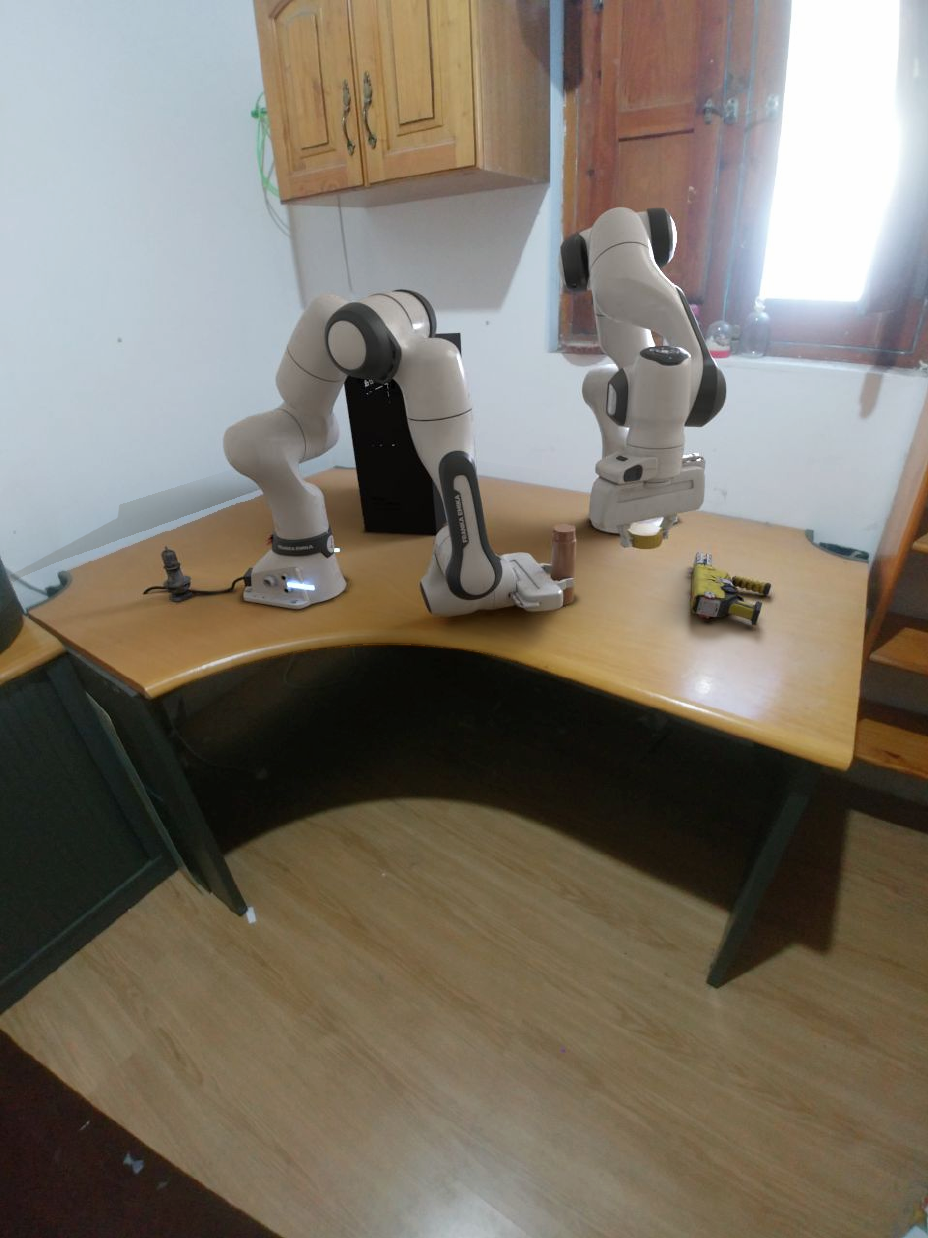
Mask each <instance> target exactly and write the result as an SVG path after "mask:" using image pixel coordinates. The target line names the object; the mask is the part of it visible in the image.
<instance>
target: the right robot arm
mask: <svg viewBox="0 0 928 1238" xmlns="http://www.w3.org/2000/svg"><path fill="white" fill-rule="evenodd" d="M676 245H677V230H676V226H675V222H674V220H673V219H672V217H671V213H670V212H669V211H668V210H667V209H666V208H665V207H650V208H646V210H644V211H637V212H636V211H634V210H633V209H631V208H629V207H624V206H618V207H613V208H610V209H608V210H606V211H604V212H603V213H602V214H600V216H599V217H598V218H597V219H596V220H595V222H594V223H593V225H592V226H591V227H589V228H586V229H584V230H583V231H581V232H579V231H575V232H574V233H572V234H571V235H569V236H567V237H566V238H564V240H563V241H562V243H561V244H560V249H559V254H558V261H557V262H558V263H557V264H558V265H557V266H558V267H557V268H558V272H559V276H560V278H561V281H562V282H563V284H564V285H565V287H566V290H568V291H570V292H571V293H572V294H583V293H587V292H588V291H590V290H591V295H592V301H593V303H592V304H593V313H594V319H595V325H596V333H597V340H598V346H599V348H600V349H601V351H602V352H603V353H604V355H606V356H607V357H608V358H609V359H611V361H612V362H613V363H607V364H602V365H597V366H593V367H591V369H589V370H588V371H587V373H586V375H585V376H584V378H583V381H582V385H581V395H582V399H583V401H584V403H585V404H586V405H587V407H589V409H590V410H591V411H592V413H593V415H594V417H595V419H596V421H597V424H598V428H599V431H600V436H601V459H599V460H598V461H597V462H596V464H595V467H594V468H595V469H594V471H595V474H596V475H598V477H597V478H596V479H595V481H593V483H592V487H591V492H590V496H589V497H590V499H589V508H588V517H589V520H590V521H591V525H592V526H593V527H594V528H595V529H597V530H599V531H601V532H605V533H611V534H619V536H620V540H619V544H620V546H621V547H622V548H624V549H627V548H631V547H632V546H633V545H634V543H633V542H634V537H633V536H630V535H629V533H628V531H627V530H628V529H630V526H631V525H634V524H641V523H645V524H653V525H656V526H659V527H661V528H662V530H663V537H662V541H663V540H668V539H669V535H670V533H669V532H670V530H671V529H672V527H673V525H674V524H675V523H677V522H678V514H683V513H688V512H694V511H697V510H699V509H700V508H701V507H702V505H703V503H704V501H705V491H706V475H705V470H706V459H705V458H704V456H703V455H700V453H699V452H694V453H691V454H684V452H685V446H686V445H685V443H686V436H685V428H702V427H704V426H705V425H707V424H709V422H711V421H712V420H713V419H714V418H715V417H717V415H718V414H719V413H720V412H721V411H722V410H723V408H724V405H725V403H726V399H727V381H726V378H725V375H724V373H723V371H722V369H721V368H720V366H719V365H718V364H717V362H716V360H715V359H714V358H713V356H712V354H711V352H710V350H709V348H708V345H707V343H706V340H705V339H704V336H703V333H702V331H701V329H700V326H699V324H698V322H697V319H696V317H695V315H694V312H693V310H692V308H691V305H690V303H689V300H688V299H687V297H686V294H685V293H684V291H683V290H682V289H681V288H680V287H679V286H677V285H676V284H675V283H673V282H671V281H670V279H668V278H667V277H666V276H665V274H664V273H663V272H662V271H661V269H663V268H665V267H666V266H668V264H669V263H670V261H672V259H673V257H674V252H675V248H676ZM652 332H653V333H656V334H657V335H659V336H661V337H662V338H663V339H664V340H665V341H666V343H667V345H656V344H655V342H654V339H653V336H652Z"/></svg>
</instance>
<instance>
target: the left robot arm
mask: <svg viewBox="0 0 928 1238" xmlns="http://www.w3.org/2000/svg"><path fill="white" fill-rule="evenodd" d="M437 324H438V322H437V316H436V312H435V310H434V307H433V305H432V304H431V303H430V301H429V300H428V299H427V298H426V297H425V296H424V295H422V294H421V293H419V292H417V291H414V290H410V289H402V288H401V289H394V290H391V291H384V292H378V293H377V292H376V293H373V294H370V295H368V296H366V297H364V298H361V299H358V300H357V301H353V302H350V301H348V300H346V299H345V297H342V296H341V295H337V294H334V293H321V294H318V295H316V296H315V297H313V298H312V299H311V300H310V302H309V303H308V304H307V306H306V307H305V308H304V310H303V312H302V313H301V315H300V317H299V319H298V320H297V322H296V323H295V326H294V328H293V330H292V332H291V334H290V336H289V339H288V341H287V344H286V347H285V349H284V352H283V355H282V358H281V360H280V362H279V365H278V368H277V371H276V374H275V377H274V379H275V386H276V389H277V391H278V394H279V396H280V397H281V399H282V400H283V402H282V403H281V404H280V405H279V406H278V407H276V408H274V409H270V410H267V411H263V412H258V413H256V414H252V415H247V416H245V417H244V418H242V419H240V420H238V421H236V422H234V423H233V424H232V425H230V426H228V427H227V428H226V430H225V431H224V434H223V438H222V449H223V453H224V456H225V459H226V460H227V462H228V463H229V465H230V466H231V467H232V468H233V470H235V471H236V472H237V473H238V474H240V475H242V476H244V477H246V478H248V479H250V480H251V481H252V482H253V483H255V484H256V485H257V487H258V488H259V489H260V491H261V492H262V493H263V495H264V497H265V499H266V502H267V505H268V509H269V511H270V515H271V519H272V523H273V526H274V531H273V532H272V533H270V534H269V537H268V538H266V540H265V542H266V546H268V545H270V544H271V548H270V549H269V550H268V551H267V552H266V553H265V554H264V555H263V556H262V557H261V558H260V559H259V560H258V561H257V562H256V563H255V564H254V565H253V567H248V569H247V570H246V572H245V573H244V574H243V576H240V577H237V578H235V579H234V580H233V581H232V582H231V586H230V587H228V588H227V589H224V590H217V591H216V590H215V591H214V590H196V589H195V590H194V589H189V590H187V591H189V592H192V593H194V595H196V594H197V595H219V594H225V593H231V592H232V591H234V590H235V586H236V584H237V583H238V582H240V581H243V584H244V587H245V589H244V591H243V593H242V595H243V596H242V597H243V601H245V602H250V603H256V604H262V605H267V606H268V605H269V606H274V607H279V608H280V607H281V608H286V609H293V610H301V609H304V608H306V607H309V606H311V605H313V604H318V603H321V602H325V601H328V600H331V599H333V598H336V597H337V596H339V595H340V594H341V593H343V592H344V590H346V588H347V582H346V579H345V578H344V576H343V574H342V571H341V569H340V566H339V564H338V561H337V557H336V553H339V552H340V548H335V540H334V536H333V530H332V527H331V525H330V524H329V519H328V513H327V509H326V501H325V497H324V494H323V492H322V490H321V489H320V488H319V486H316V485H315V484H313V483H311V482H308V481H305V480H304V478H303V476H302V474H301V471H300V466H299V464H302V463H305V462H309V461H311V460H313V459H317V458H320V457H321V456H323V455H324V454H326V453H327V452H328V451H330V450H331V449H332V448H334V447H335V446H336V445H337V444H338V442H339V438H340V424H339V421H338V418H337V416H336V414H335V413H334V412H333V410H334V407H335V404H336V401H337V400H338V398H339V395H340V393H341V391H342V389H343V386H344V382H345V380H346V378H347V376H348V375H349V376H352V377H356V378H361V379H368V380H371V381H375V382H377V383H381V384H385V385H386V383H388V382H389V381H390V380H391V379H394V380H395V381H396V382H397V383H398V384H399V386H400V388H401V390H402V393H403V397H404V402H405V408H406V414H407V420H408V425H409V430H410V434H411V437H412V440H413V443H414V446H415V448H416V451H417V453H418V456H419V458H420V460H421V461H422V463H423V465H424V466H425V468H426V469H427V471H428V472H429V474H430V476H431V477H432V479H433V481H434V483H435V484H436V486H437V488H438V491H439V493H440V495H441V498H442V501H443V505H444V509H445V515H446V525H443V526H442V527H441V529H440V530H439V532H438V533H437V534H435V536H434V538H433V542H432V543H433V547H432V552H431V557H430V561H429V565H428V566H427V570H426V572H425V574H424V575H423V576H422V577H421V579H420V581H419V591H420V593H421V597H422V599H423V602H424V605H425V607H426V609H427V611H428V613H429V614H430V615H432V616H434V617H439V618H442V617H443V618H447V617H456V616H463V615H470V614H472V613H475V612H476V611H482V610H485V611H492V610H498V609H503V608H510V607H514V606H516V607H517V608H521V609H524V610H525V611H527V612H546V611H555V610H559V609H561V608H562V607H563V606H564V605H563V590H564V589H566V588H570V587H573V586H574V587H575V582H574V579H573V578H572V577H571V576H568V577H563V580H561V581H559V582H558V580H556V581H553V580H552V579H551V563H546V562H545V563H544V562H541V563H538V562H537V561H536V559H534V557H533V556H532V555H531V554H530V553H528V552H521V551H520V552H512V553H504V554H501V555H499V554H496V552H494V550H493V549H492V547H491V544H490V542H489V538H488V533H487V527H486V521H485V514H484V508H483V503H482V497H481V496H482V495H481V491H480V485H479V478H478V463H477V462H478V461H477V451H476V432H475V431H476V430H475V419H474V408H473V402H472V394H471V388H470V385H469V380H468V375H467V371H466V368H465V364H464V361H463V357H462V358H461V355H460V352H459V350H458V348H457V347H456V346H455V345H454V344H453V343H451V342H450V341H447V340H445V339H441V338H434V337H435V334H437V328H438V327H437V326H438V325H437ZM386 377H387V378H386ZM385 378H386V379H385ZM154 590H166V591H168V590H167V589H166V588H165V587H164V586H163V585H159V586H158V585H154V586H153V585H152V586H150V587H148V588H146V589H145V590H144V591H143V593H142V595H147V594H148V593H149V592H150V591H154Z"/></svg>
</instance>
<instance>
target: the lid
mask: <svg viewBox="0 0 928 1238" xmlns="http://www.w3.org/2000/svg"><path fill="white" fill-rule="evenodd" d="M627 531H628V533H629V535H630V536H633V537H634V542H633V543H634V545H633V546H631V547H632V548H636V549H638V550H639V549H640V550H654V549H657V548H659V547H660V546H661V545H662V543H663V540H662V537H663V530H662V528H661V527H659V526H656V525H653V524H645V523H641V524H634V525H631V526H630V529H628V530H627Z"/></svg>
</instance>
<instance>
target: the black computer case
mask: <svg viewBox="0 0 928 1238" xmlns="http://www.w3.org/2000/svg"><path fill="white" fill-rule="evenodd" d="M434 338H441V339H445V340H447V341H450V342H451V343H453V344H454V345H455V346H456V347H457V348H458V350H459V352H460V355H461V358H462V359H463V357H462V356H463V355H462V354H463V353H462V336H461V332H447V333H446V332H442V333H441V332H440V333H436V334H435V337H434ZM386 378H387V377H386ZM386 378H385V379H386ZM343 386H344V387H343V388H344V394H345V395H344V396H345V400H346V408H347V409H346V410H347V415H348V421H349V430H350V436H351V437H350V438H351V444H352V450H353V458H354V463H355V464H354V465H355V470H356V471H355V472H356V477H357V485H358V492H359V498H360V499H359V500H360V506H361V514H362V520H363V528H364V532H367V533H368V532H370V533H393V534H394V533H395V534H416V535H417V534H419V535H436V534H437V533H438V532H439V530H440V529H441V528H443V527H444V526H445V523H447V520H446V515H445V509H444V505H443V501H442V498H441V495H440V493H439V491H438V488H437V486H436V484H435V483H434V481H433V479H432V477H431V476H430V474H429V472H428V471H427V469H426V468H425V466H424V465H423V463H422V461H421V460H420V458H419V456H418V453H417V451H416V448H415V446H414V443H413V440H412V437H411V434H410V430H409V425H408V420H407V414H406V408H405V402H404V397H403V393H402V390H401V388H400V386H399V384H398V383H397V382H396V381H395V380H394V379H391V380H390V381H389V382H388V383H386V384H381V383H377V382H375V381H372V380H368V379H361V378H356V377H352V376H349V375H348V376H347V378H346V380H345V382H344V384H343Z"/></svg>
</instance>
